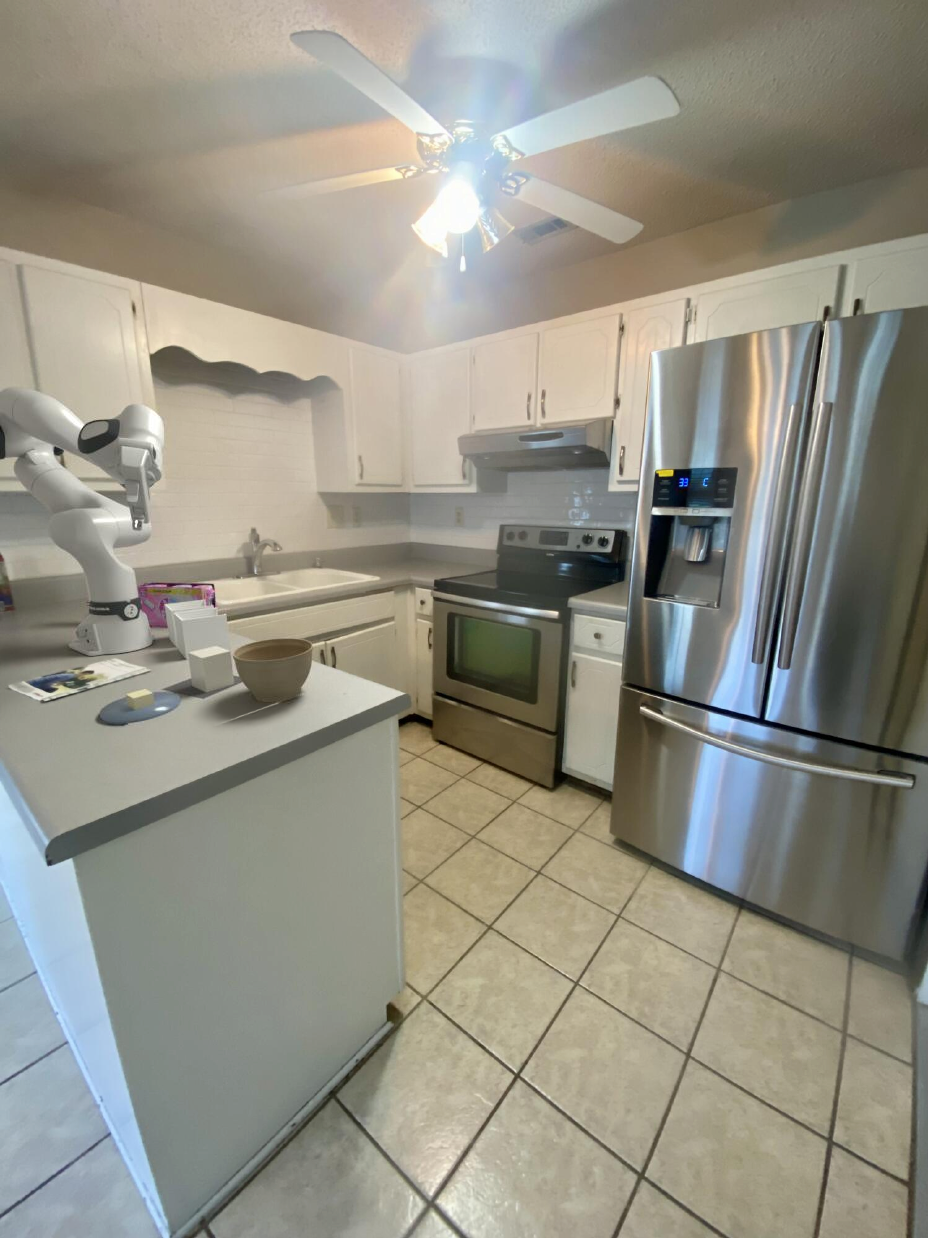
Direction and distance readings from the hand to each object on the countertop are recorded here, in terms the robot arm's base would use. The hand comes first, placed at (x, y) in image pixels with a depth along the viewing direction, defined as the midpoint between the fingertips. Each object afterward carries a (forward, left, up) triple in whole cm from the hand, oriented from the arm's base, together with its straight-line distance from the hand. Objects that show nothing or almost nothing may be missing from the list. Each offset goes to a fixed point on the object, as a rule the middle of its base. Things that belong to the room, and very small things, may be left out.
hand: (134, 516), depth 110 cm
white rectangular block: (+15, +3, -38) cm, 40 cm away
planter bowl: (+32, +5, -38) cm, 50 cm away
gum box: (-43, +40, -38) cm, 70 cm away
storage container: (-16, +25, -38) cm, 49 cm away
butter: (+12, -12, -38) cm, 42 cm away
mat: (+13, +3, -38) cm, 40 cm away
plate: (+12, -12, -38) cm, 42 cm away
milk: (-64, +30, -38) cm, 81 cm away
